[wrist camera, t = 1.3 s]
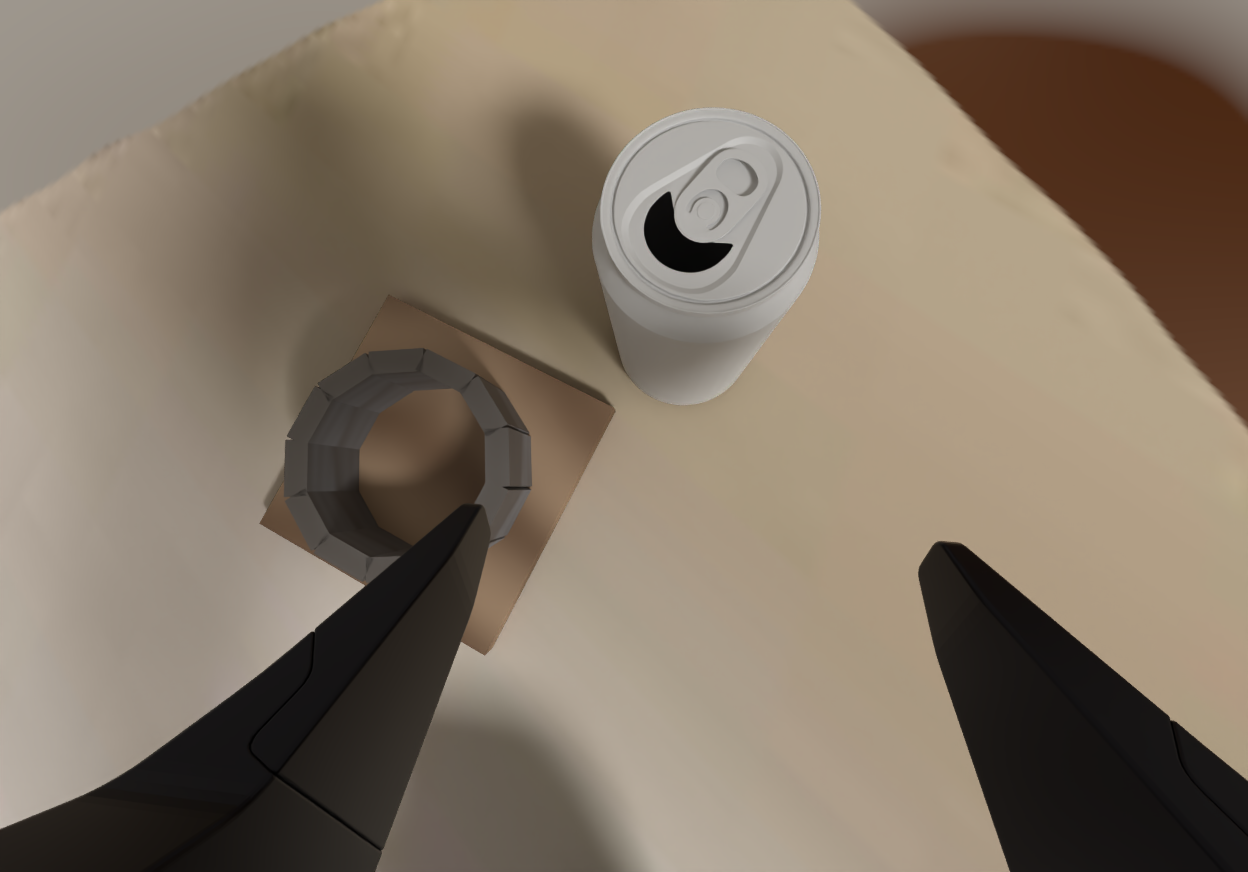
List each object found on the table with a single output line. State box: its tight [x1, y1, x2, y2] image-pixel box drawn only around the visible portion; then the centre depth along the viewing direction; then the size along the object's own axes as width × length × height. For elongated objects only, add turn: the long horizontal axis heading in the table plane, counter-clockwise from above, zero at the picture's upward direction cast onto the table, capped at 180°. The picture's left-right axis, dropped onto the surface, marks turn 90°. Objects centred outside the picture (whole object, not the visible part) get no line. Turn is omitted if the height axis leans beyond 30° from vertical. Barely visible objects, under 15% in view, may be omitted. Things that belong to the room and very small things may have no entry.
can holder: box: [260, 295, 615, 655], centre depth 22 cm, size 13×13×4 cm
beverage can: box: [592, 107, 821, 405], centre depth 18 cm, size 6×6×12 cm
